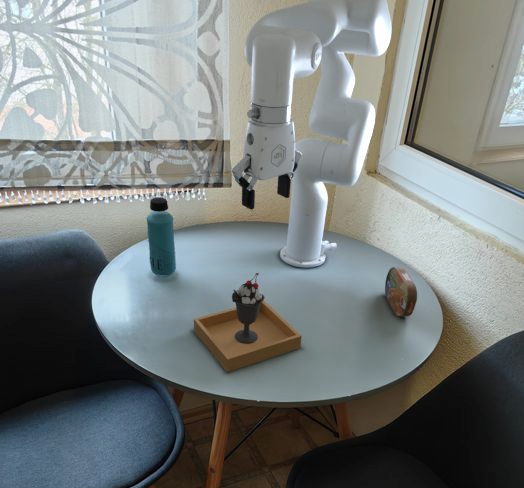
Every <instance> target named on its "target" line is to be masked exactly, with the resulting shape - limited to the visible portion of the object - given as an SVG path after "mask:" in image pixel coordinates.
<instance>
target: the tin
mask: <svg viewBox="0 0 524 488" xmlns="http://www.w3.org/2000/svg"><path fill="white" fill-rule="evenodd" d="M384 294H385V297H386V300H387V302H388V303H389V305H390V307H391V309H392V311H393V312H394V314H395V315H396V317H410V316H412V315H413V313H414V310H415V307H416V305H417V302H418V289H417V286H416V284H415V283H414V281H413V279H412V278H411V276H410V275H409V274H408V272H407V270H405V268H403V267H395V266H393V267H391V268H389V270H388V272H387V274H386V278H385V284H384Z"/></svg>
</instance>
